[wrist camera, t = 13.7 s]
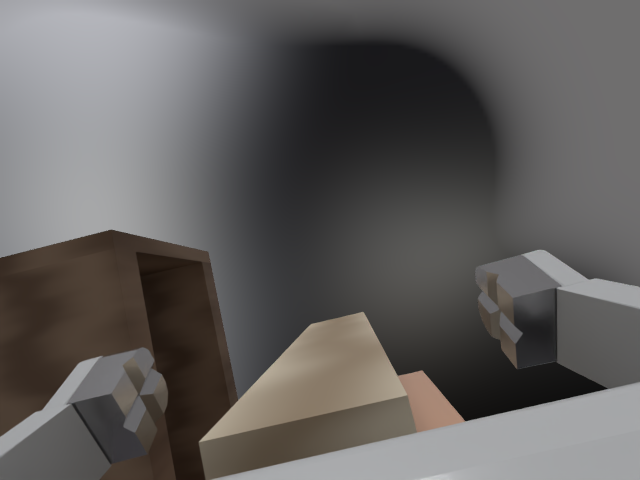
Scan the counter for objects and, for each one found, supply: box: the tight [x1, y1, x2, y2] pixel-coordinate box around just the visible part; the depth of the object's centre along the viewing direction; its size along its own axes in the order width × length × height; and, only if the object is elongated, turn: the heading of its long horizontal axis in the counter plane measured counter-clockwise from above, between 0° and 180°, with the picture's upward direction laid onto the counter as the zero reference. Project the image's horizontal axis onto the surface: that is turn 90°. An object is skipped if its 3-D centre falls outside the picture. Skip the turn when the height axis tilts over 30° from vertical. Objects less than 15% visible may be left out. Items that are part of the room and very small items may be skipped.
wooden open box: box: [0, 230, 238, 480], centre depth 26 cm, size 10×14×26 cm
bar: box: [199, 312, 417, 480], centre depth 16 cm, size 4×19×4 cm, turn 176°
